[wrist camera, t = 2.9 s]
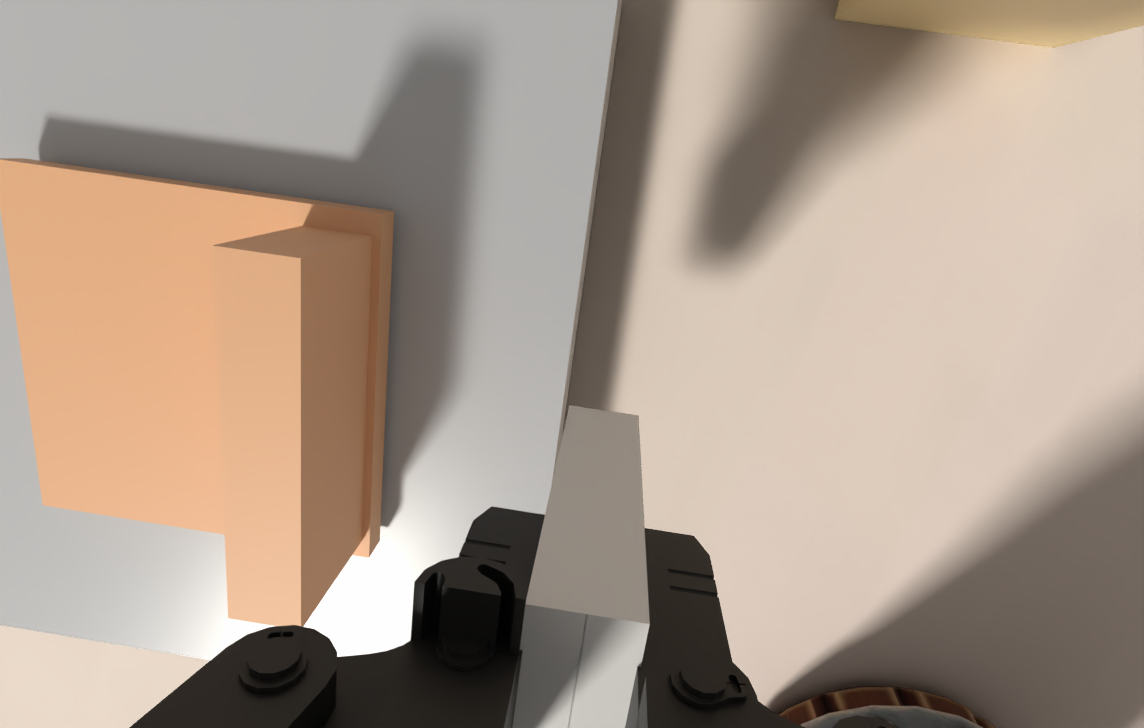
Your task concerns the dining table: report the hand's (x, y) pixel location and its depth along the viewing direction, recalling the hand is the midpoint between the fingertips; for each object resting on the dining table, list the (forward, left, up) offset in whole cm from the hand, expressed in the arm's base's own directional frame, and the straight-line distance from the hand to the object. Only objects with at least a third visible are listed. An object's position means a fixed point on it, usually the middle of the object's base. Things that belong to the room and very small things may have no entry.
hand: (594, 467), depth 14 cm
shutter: (0, -10, -2) cm, 10 cm away
